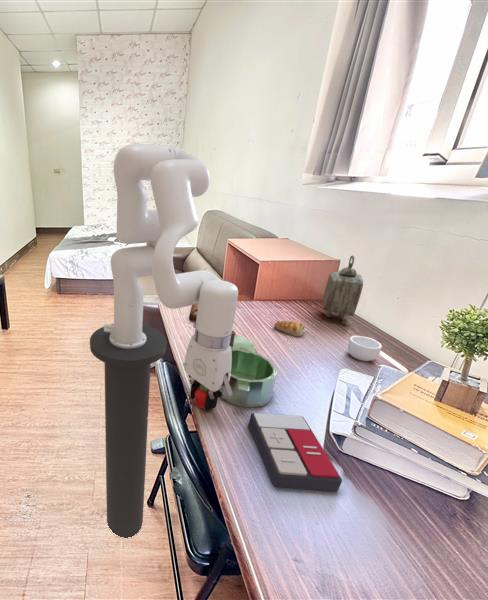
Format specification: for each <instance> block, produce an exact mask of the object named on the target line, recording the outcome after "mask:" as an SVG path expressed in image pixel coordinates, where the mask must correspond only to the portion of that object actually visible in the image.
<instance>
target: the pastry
mask: <svg viewBox="0 0 488 600" xmlns="http://www.w3.org/2000/svg"><path fill="white" fill-rule="evenodd" d="M274 327H275V328H276V330H278V331H279V332H283V333H284V334H287V335H291V336H294V337H302V336H303V333H305V331H306V330H305V327H306V324H305V323H300V322H297V321H294V320H292V321H291V320H283V321H282V320H279V321H277V322H275V323H274Z"/></svg>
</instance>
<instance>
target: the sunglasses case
mask: <svg viewBox="0 0 488 600" xmlns="http://www.w3.org/2000/svg"><path fill="white" fill-rule="evenodd" d="M197 312H198V304H194V305H191V308H190V311H189V315H188V320H189V321H190V322H191V323H193V324H194V323H196V320H197Z"/></svg>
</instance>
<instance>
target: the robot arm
mask: <svg viewBox="0 0 488 600" xmlns="http://www.w3.org/2000/svg"><path fill="white" fill-rule="evenodd" d="M113 178H114V183H115V189H116V196H117V197H116V237H117V239H118V241H119V242H120V243H122V244H126V245H134V244H143V243H145V245H140V246H128V247H122V248H119V249H117V250H115V251H114V252H113V253H112V255H111V256H110V268H111V275H112V280H113V281H112V282H113V283H112V284H113V323H112V324H113V325H111V324H110V323H104V324H103V326H102V327H103V328H104V332H109V333H111V334H110V337H109V339H110V342H111V343H112V344H113V345H114V346H116V347H119V348H124V349H133V348H138V347H141V346H143V345H144V344H145V343H146V340H147V337H146V335H145V334H144V333H143V332H142V324H143V323H144V322H143V320H144V295H145V294H144V288H143V286H142V285H141V283H140V282H139V280H138V278H142V277H148V276H152V279H153V282H154V287H155V292H156V294H157V297H158V299H159V301H160V303H161V304H162V305H163V306H164V307H166V308H168V309H170V310H173V309H175V310H176V309H182V308H186V307H190V306H192V305H194V304H198V312H197V320H196V323H194V322H193V325H192V327H193V328H194V329H195V330H194V334H193V335H192V336H191V338H190V340H189V342H188V346H187V348H186V353H185V358H184V362H183V363H182V366H183V370H184V371H185V373H186V374H187V376H188V378H189V380H188V382H189V384H190V392H189V393H190V394H189V399H190V400H195V390H196V389H197V388H198V387H200V385H201V384H202V385H203V386H205V387H206V388H208V389H209V396H207V397H206V403H205V408H204V411H205V412H209V411H211V410H214V409H216V408H217V404H218V399H219V398H221V397H229V396H231V395H233V393H232V390H231V387H230V384H229V380H230V375H231V366H232V350H231V347H230V346H229V345H230V339H231V334H232V331H233V327H234V323H235V322H234V321H235V317H236V309H237V304H238V299H239V289H238V287H237V285H236V284H234V283H232V282H230V281H226V280H222V279H221V278H219V277H217V276H216V274H214V273H212V272H211V271H209V270H206V269H205V270H204V269H202V270H201V269H200V270H195V271H187V272H180V273H176V271H175V266H174V254H175V253H174V252H175V249H176V246H177V245H178V243H179V242H180V240H181V239H182V238H183V237H185V236H187V235H189V234H190V233H192V232H193V231H194V230H195V229H197V227H198V225H199V218H198V214H197V209H196V205H195V202H194V201H195V200H194V198H198V197H201V196H203V195H204V194H205V193H206V192H207V191H208V189H209V187H210V183H211V176H210V171H209V169H208V167H207V164H206V163H205V162H203V161H202V160H201V159H200V158H198V157H196V156H195V155H193V154H191V153H189V152H188V151H186V150H185V149H183V148H181V147H179V146H176V145H171V144H170V145H169V144H154V143H153V144H152V143H131V144H126V145H124V146H122V147H121V148H120V149H119V150H118V151H117V153H116V155H115V158H114V161H113ZM142 181H150V186H151V191H152V195H153V200H154V204H155V208H156V209H148V192H147V190H146V188H145V186H144V184H143V182H142ZM221 386H222V388H223V389H222V390H221Z"/></svg>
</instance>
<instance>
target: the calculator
mask: <svg viewBox="0 0 488 600" xmlns="http://www.w3.org/2000/svg"><path fill="white" fill-rule="evenodd" d="M248 428H249V431H250V433H251V436H252V439H254V440H255V443H256V445H257V447H258V450H259V452H260V455H261V458H262V460H263V463H264V466H265V467H266V470H267V473H268V475H269V478H270V481H271V483H272V485H273V486H274V488H284V489H297V490H307V491H308V490H309V491H321V492H332V493H333V492H335V493H337V492H338V491H339V489H340V488H341V484H342V483H343V478H342V477H341V475H340V474H339V472H338V470H337V469H336V466H335V465H334V464H333V463H332V461H331V459H330V458H329V456H328V454H327V452H326V451H325V450H324V448H323V446H322V445H321V443H320V442H319V440H318V438H317V437H316V435H315V433H314V432H313V430H312V428H311V427H310V425H309V423H308V422H307V421H306V418H304V416H303V415H292V414H275V413H261V412H260V413H259V412H251V413H250V417H249V421H248Z"/></svg>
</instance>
